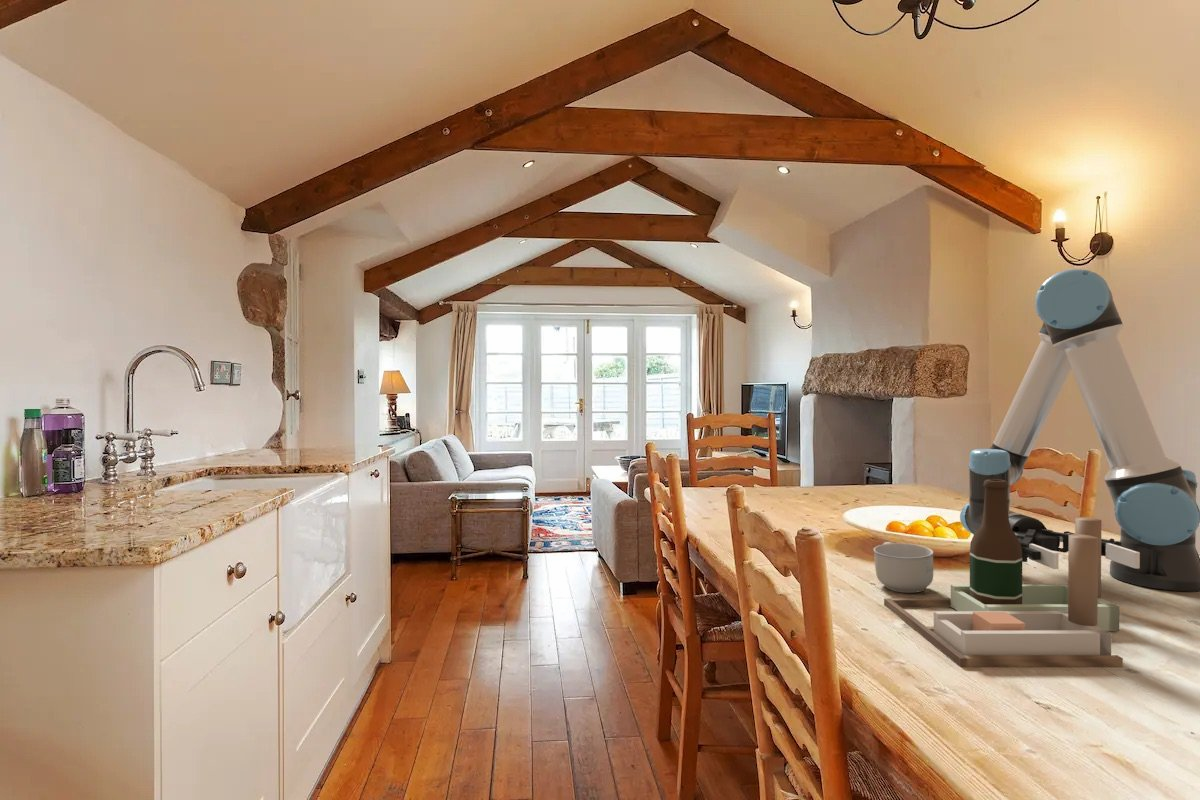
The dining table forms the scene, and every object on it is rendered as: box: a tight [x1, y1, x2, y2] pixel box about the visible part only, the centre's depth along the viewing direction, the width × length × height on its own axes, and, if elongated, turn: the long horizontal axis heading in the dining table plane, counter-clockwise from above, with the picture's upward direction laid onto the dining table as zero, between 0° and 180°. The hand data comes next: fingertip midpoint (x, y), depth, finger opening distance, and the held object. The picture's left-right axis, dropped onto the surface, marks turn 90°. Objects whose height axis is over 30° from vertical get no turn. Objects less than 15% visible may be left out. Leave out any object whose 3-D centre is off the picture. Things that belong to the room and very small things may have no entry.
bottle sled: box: [950, 516, 1120, 632], centre depth 112 cm, size 22×12×17 cm, turn 89°
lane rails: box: [883, 597, 1124, 668], centre depth 107 cm, size 23×26×1 cm
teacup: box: [873, 541, 934, 594], centre depth 131 cm, size 14×11×8 cm
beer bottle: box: [969, 479, 1023, 605], centre depth 113 cm, size 8×8×24 cm
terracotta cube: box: [973, 612, 1025, 631], centre depth 100 cm, size 5×5×5 cm
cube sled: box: [933, 534, 1112, 655], centre depth 100 cm, size 22×9×17 cm, turn 89°
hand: (1097, 560), depth 110 cm, fingers open, 13 cm apart
